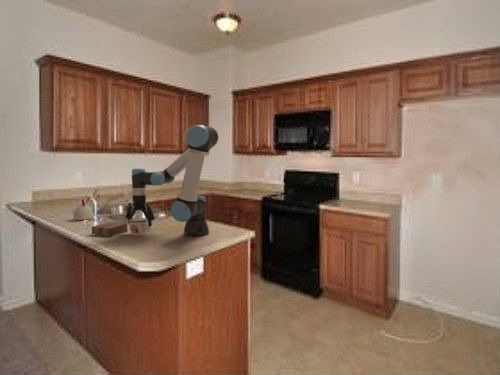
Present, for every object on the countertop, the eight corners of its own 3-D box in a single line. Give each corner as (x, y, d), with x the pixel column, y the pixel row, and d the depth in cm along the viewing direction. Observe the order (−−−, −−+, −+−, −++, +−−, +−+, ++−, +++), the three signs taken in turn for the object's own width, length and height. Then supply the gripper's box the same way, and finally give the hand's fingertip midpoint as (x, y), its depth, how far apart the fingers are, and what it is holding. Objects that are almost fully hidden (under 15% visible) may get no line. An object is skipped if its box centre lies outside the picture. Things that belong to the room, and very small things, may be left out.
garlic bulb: (92, 217, 250) (91, 197, 248) (96, 220, 239) (95, 199, 237) (71, 219, 242) (70, 199, 240) (75, 222, 231) (73, 201, 229)
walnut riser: (127, 231, 205) (127, 223, 204) (110, 237, 191) (110, 228, 191) (109, 230, 209) (108, 222, 209) (91, 235, 196) (91, 226, 196)
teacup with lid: (127, 234, 198) (127, 215, 196) (140, 231, 205) (140, 213, 204) (140, 237, 191) (139, 217, 189) (153, 234, 198) (152, 215, 197)
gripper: (118, 194, 196) (119, 230, 198) (152, 196, 188) (153, 233, 190) (126, 193, 203) (128, 227, 205) (160, 194, 195) (161, 231, 197)
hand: (140, 230), depth 197 cm, fingers closed on teacup with lid, 12 cm apart
